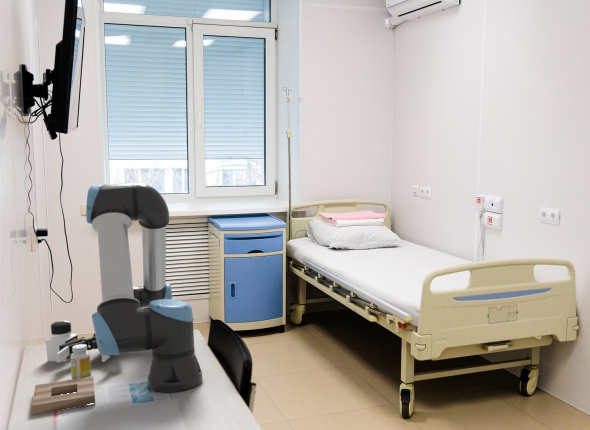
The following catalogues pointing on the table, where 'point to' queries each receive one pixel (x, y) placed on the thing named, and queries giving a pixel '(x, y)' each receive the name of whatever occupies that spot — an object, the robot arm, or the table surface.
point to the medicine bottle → (59, 339)
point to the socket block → (52, 400)
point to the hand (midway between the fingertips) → (80, 357)
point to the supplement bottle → (80, 362)
